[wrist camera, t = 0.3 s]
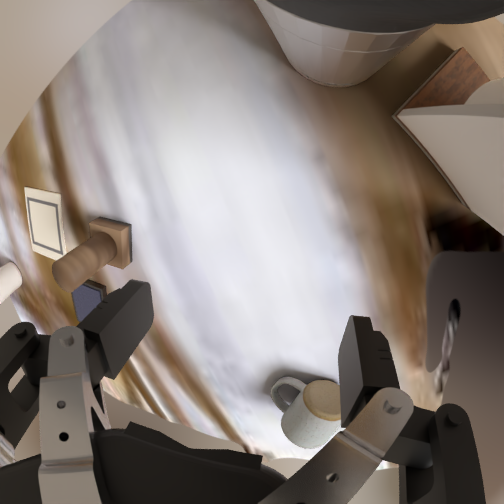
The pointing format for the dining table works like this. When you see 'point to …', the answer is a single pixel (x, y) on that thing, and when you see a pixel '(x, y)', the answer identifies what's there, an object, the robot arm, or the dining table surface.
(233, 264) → the dining table surface
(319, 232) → the dining table surface
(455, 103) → the white tiered stand
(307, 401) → the ceramic mug
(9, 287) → the drinking glass
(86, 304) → the ink pad
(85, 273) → the stamp
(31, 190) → the label card
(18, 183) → the dining table surface
